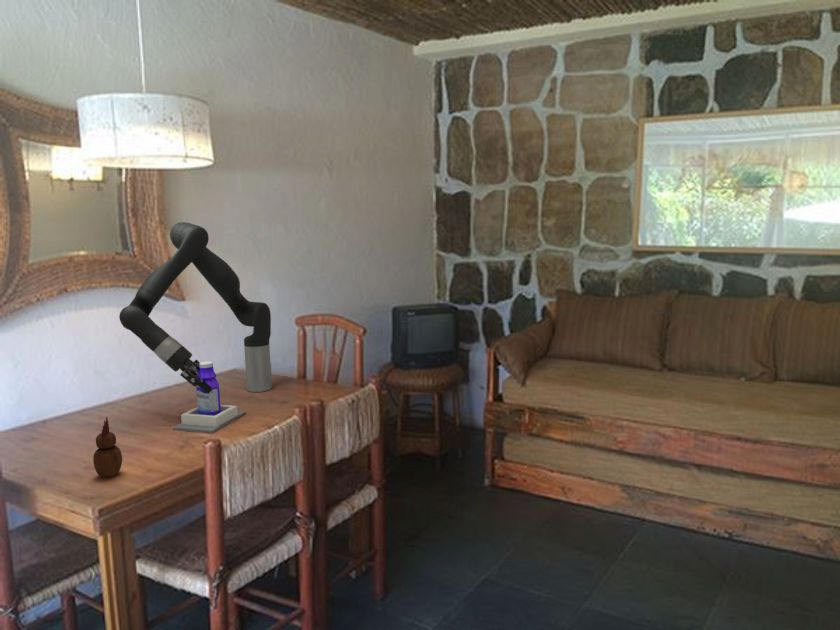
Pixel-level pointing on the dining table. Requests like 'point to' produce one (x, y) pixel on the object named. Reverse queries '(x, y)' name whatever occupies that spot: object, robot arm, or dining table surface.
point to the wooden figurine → (107, 453)
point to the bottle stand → (208, 420)
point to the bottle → (211, 401)
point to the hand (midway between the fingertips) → (213, 388)
